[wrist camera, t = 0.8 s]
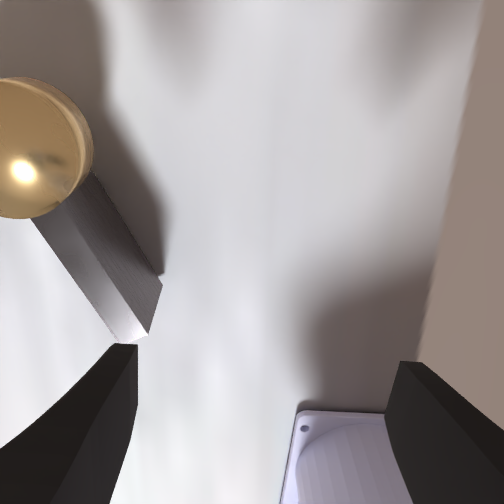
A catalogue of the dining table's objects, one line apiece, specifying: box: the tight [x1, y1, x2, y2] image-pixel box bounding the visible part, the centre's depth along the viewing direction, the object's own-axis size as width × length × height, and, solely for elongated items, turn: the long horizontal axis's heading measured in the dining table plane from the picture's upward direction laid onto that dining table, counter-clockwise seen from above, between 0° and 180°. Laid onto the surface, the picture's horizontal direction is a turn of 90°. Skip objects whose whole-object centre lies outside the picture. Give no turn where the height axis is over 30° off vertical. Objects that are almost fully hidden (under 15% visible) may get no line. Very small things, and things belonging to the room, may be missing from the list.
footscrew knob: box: [0, 77, 163, 344], centre depth 17 cm, size 10×4×4 cm, turn 24°
